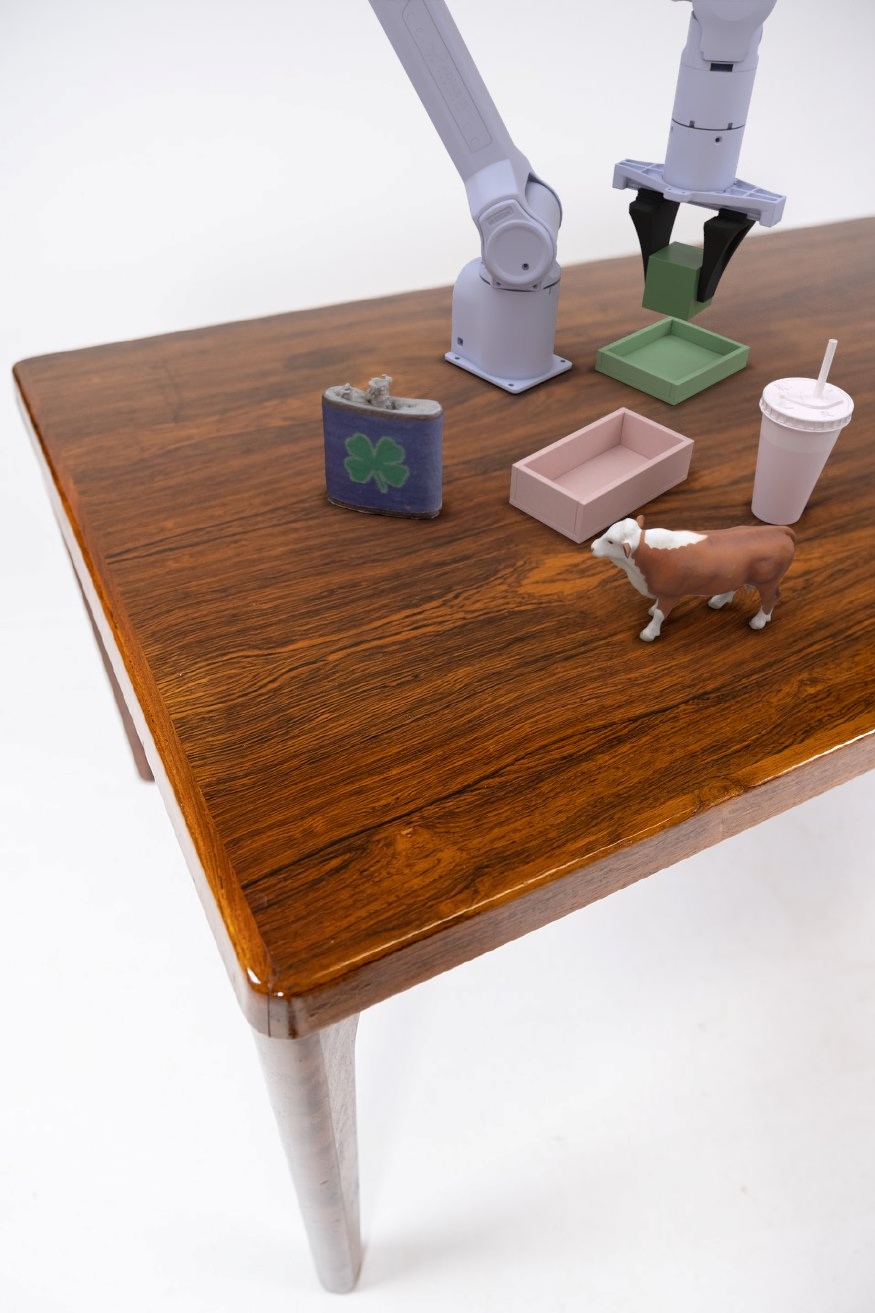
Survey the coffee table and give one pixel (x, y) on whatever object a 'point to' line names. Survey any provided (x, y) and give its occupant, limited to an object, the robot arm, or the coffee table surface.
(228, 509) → the coffee table surface
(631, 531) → the bull figurine
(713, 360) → the green tray
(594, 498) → the pink tray
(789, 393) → the smoothie
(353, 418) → the flask
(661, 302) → the green block
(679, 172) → the robot arm
